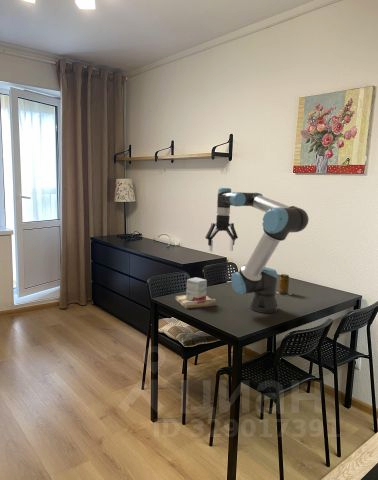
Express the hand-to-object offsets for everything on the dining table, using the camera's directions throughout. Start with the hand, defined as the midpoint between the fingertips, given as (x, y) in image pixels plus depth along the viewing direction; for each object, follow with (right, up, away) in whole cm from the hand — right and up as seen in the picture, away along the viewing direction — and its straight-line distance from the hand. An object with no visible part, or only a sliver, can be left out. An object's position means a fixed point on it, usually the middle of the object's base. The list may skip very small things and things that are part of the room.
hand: (221, 250), depth 218 cm
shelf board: (-15, -29, -6) cm, 34 cm away
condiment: (+42, -28, +20) cm, 54 cm away
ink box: (-15, -28, -7) cm, 32 cm away
